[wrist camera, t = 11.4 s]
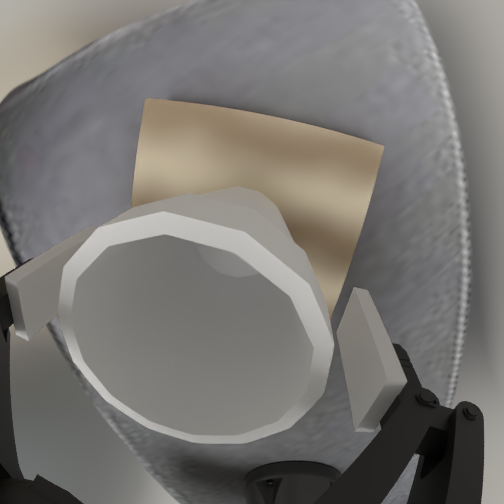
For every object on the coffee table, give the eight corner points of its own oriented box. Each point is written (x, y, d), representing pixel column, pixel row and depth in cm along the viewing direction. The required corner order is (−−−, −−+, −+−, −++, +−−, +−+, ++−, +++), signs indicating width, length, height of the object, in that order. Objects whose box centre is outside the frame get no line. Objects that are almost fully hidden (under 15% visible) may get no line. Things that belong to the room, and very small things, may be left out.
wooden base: (315, 321, 28) (318, 348, 24) (145, 281, 28) (127, 302, 25) (369, 143, 22) (384, 146, 18) (166, 102, 22) (145, 98, 19)
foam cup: (328, 268, 22) (362, 416, 10) (211, 310, 24) (155, 451, 12) (272, 138, 19) (248, 148, 7) (150, 198, 21) (20, 278, 9)
